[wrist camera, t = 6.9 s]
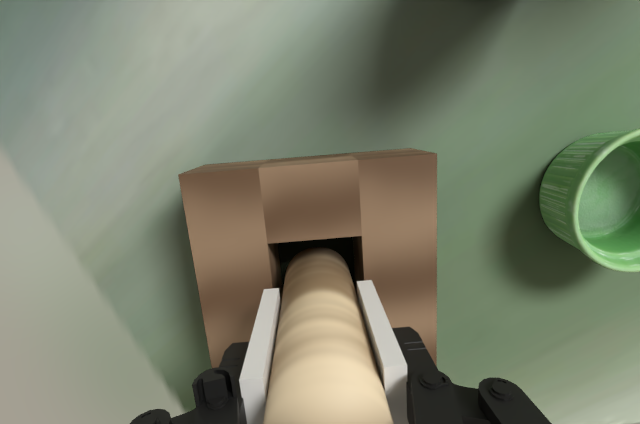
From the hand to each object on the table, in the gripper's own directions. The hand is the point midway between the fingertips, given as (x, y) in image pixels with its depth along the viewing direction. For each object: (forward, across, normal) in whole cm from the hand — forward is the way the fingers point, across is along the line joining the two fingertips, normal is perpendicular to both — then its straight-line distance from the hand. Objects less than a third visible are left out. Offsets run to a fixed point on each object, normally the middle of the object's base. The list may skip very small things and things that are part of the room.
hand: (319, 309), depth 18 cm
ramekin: (+8, +20, +3) cm, 22 cm away
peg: (+4, 0, 0) cm, 4 cm away
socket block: (+8, 0, 0) cm, 8 cm away
